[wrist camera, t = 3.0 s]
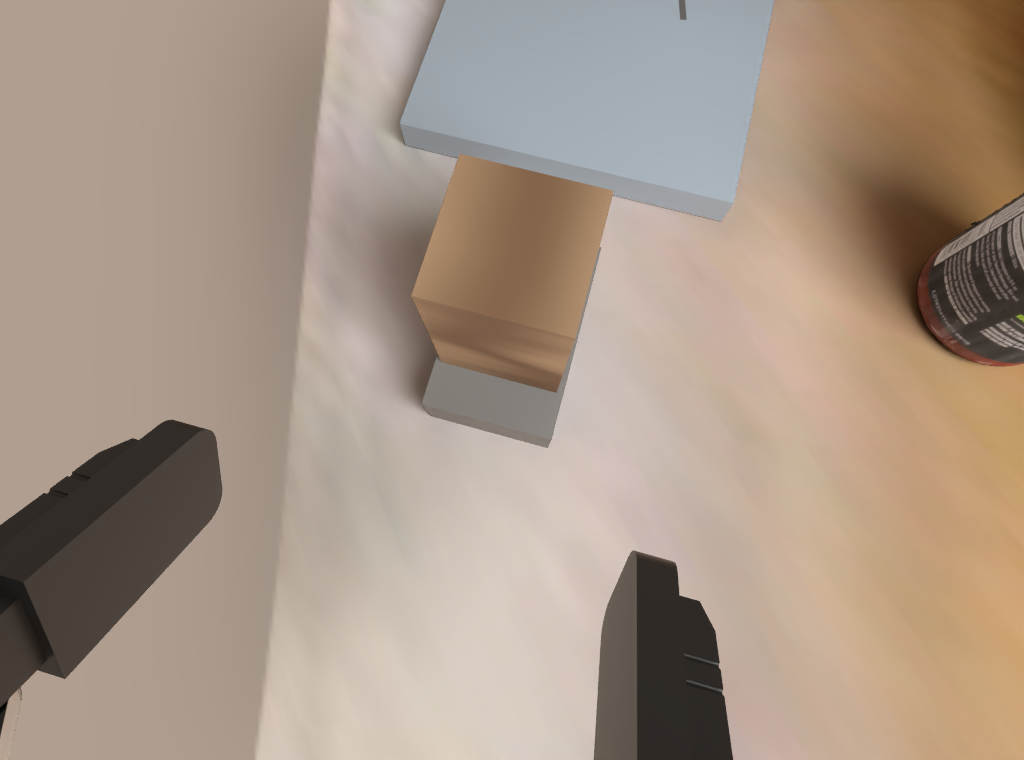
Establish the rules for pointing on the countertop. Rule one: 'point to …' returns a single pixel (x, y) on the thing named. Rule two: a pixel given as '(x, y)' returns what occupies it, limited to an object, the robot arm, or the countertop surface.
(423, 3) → the countertop surface
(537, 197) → the block
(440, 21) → the board
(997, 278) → the supplement bottle
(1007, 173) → the countertop surface
